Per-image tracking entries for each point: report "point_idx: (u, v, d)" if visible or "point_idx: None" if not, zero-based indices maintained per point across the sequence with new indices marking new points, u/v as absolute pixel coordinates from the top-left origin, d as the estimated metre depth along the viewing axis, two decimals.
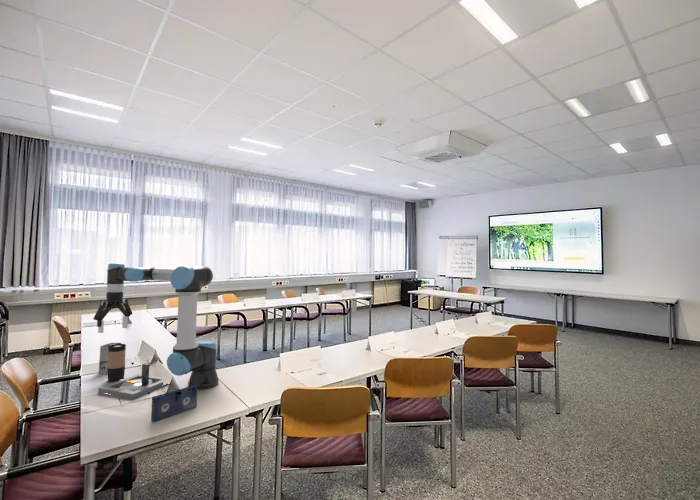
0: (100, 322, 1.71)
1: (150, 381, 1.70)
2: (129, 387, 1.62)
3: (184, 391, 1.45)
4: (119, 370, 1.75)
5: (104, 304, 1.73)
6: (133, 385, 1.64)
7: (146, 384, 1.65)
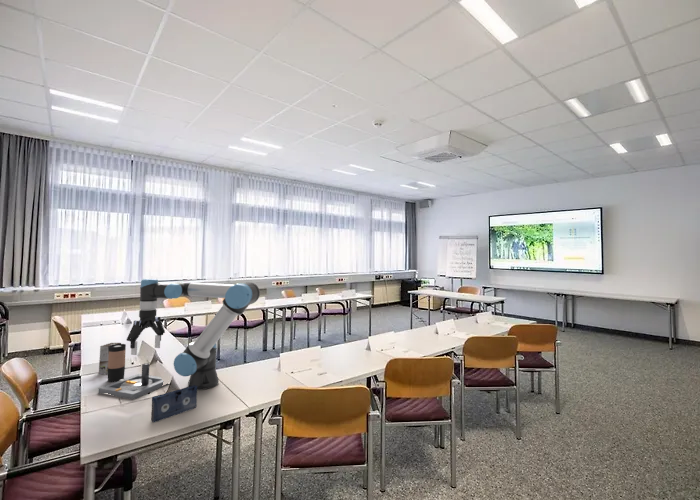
0: (133, 343, 1.59)
1: (150, 381, 1.70)
2: (129, 387, 1.62)
3: (184, 391, 1.45)
4: (119, 370, 1.75)
5: (138, 324, 1.60)
6: (133, 385, 1.64)
7: (146, 384, 1.65)
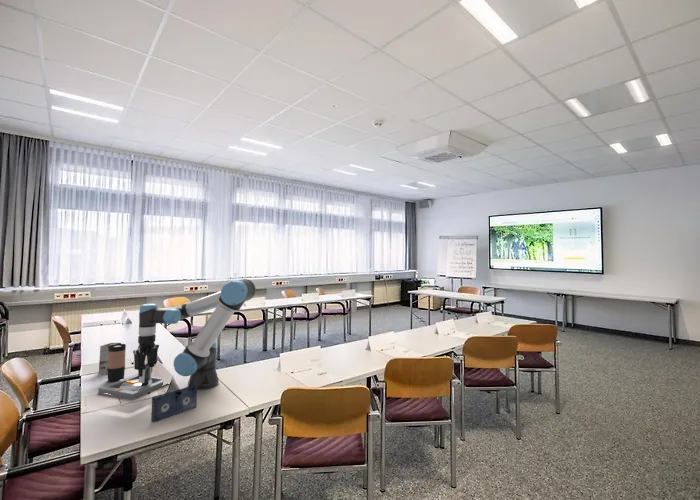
0: (141, 371, 1.63)
1: (150, 381, 1.70)
2: (129, 387, 1.62)
3: (184, 391, 1.45)
4: (119, 370, 1.75)
5: (138, 353, 1.60)
6: (133, 385, 1.64)
7: (146, 384, 1.65)
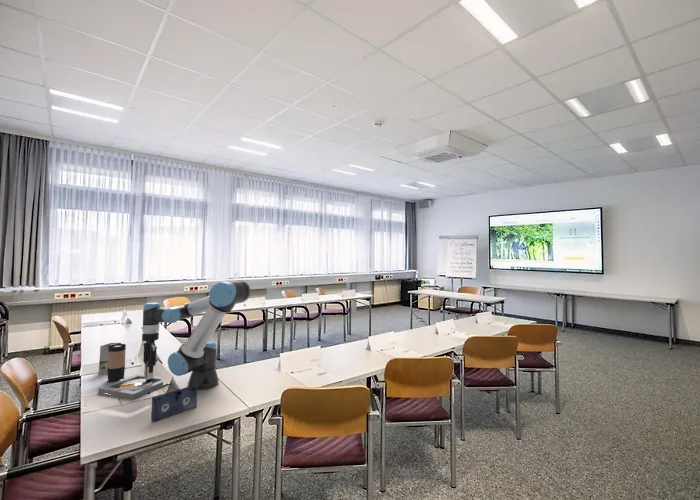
0: None
1: (144, 379, 1.73)
2: (139, 386, 1.64)
3: (184, 391, 1.45)
4: (119, 370, 1.75)
5: None
6: (139, 384, 1.66)
7: (152, 379, 1.71)
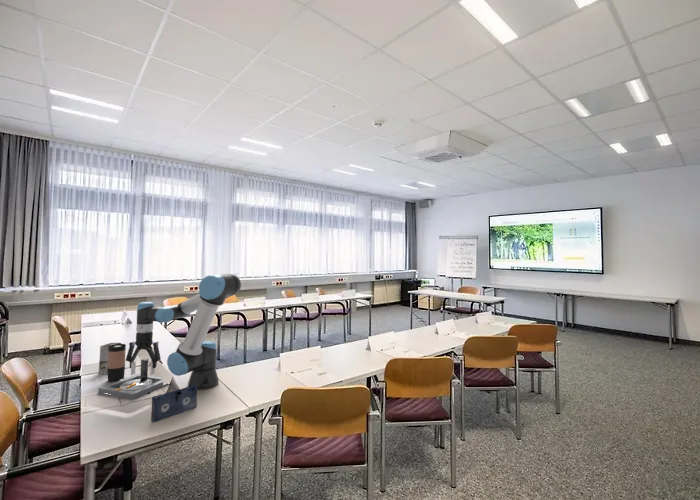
0: None
1: (133, 380, 1.71)
2: (145, 383, 1.67)
3: (184, 391, 1.45)
4: (119, 370, 1.75)
5: None
6: (142, 383, 1.68)
7: None
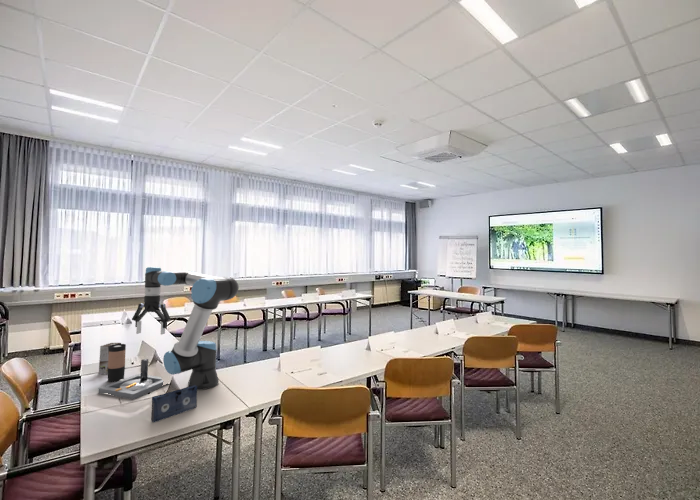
0: None
1: (133, 380, 1.71)
2: (145, 383, 1.67)
3: (184, 391, 1.45)
4: (119, 370, 1.75)
5: None
6: (142, 383, 1.68)
7: None
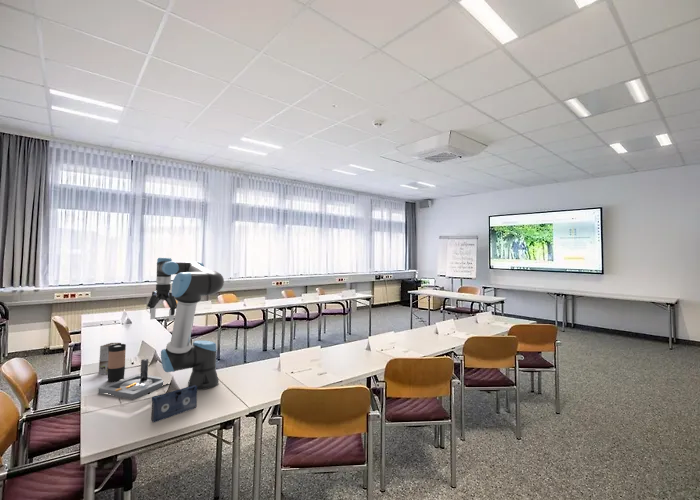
0: None
1: (133, 380, 1.71)
2: (145, 383, 1.67)
3: (184, 391, 1.45)
4: (119, 370, 1.75)
5: None
6: (142, 383, 1.68)
7: None
